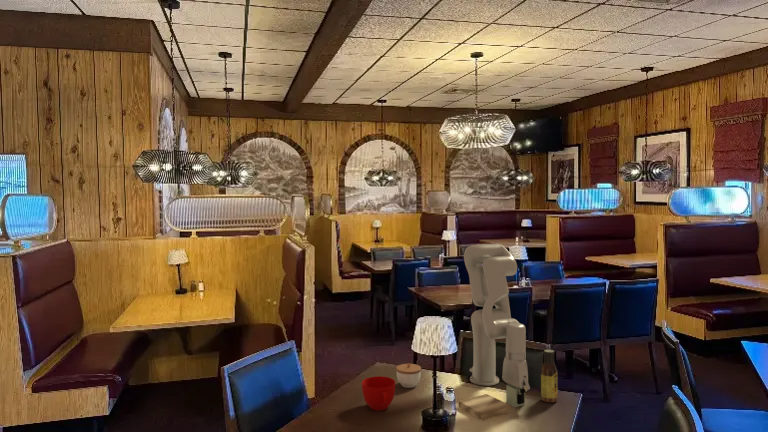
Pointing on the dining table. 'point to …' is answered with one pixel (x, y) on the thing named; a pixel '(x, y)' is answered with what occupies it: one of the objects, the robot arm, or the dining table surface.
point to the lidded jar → (408, 374)
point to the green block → (512, 395)
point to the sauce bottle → (549, 378)
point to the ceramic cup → (378, 392)
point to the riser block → (484, 406)
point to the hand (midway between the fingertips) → (515, 400)
